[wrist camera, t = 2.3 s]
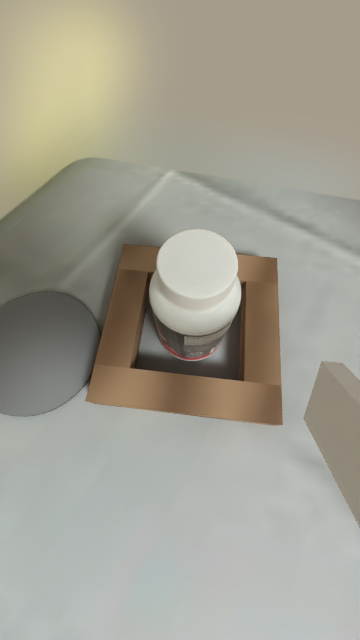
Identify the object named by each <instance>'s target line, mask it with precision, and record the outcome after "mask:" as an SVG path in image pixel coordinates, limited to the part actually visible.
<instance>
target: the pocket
mask: <svg viewBox="0 0 360 640" xmlns="http://www.w3.org/2000/svg"><path fill="white" fill-rule="evenodd" d="M160 248H161V247H151V246H140V245H129V244H124V245H123V249H122V254H121V258H120V262H119V266H118V270H117V274H116V278H115V282H114V286H113V291H112V295H111V299H110V303H109V307H108V311H107V315H106V319H105V323H104V327H103V332H102V336H101V340H100V344H99V348H98V352H97V356H96V360H95V364H94V368H93V373H92V377H91V381H90V385H89V389H88V393H87V397H86V401H88V402H91V403H95V404H103V405H111V406H119V407H127V408H135V409H144V410H152V411H160V412H168V413H176V414H184V415H193V416H201V417H209V418H217V419H225V420H234V421H242V422H250V423H258V424H266V425H282V395H281V365H280V334H279V304H278V273H277V258H270V257H259V256H249V255H238V254H236V255H237V259H238V272H237V276H238V278H239V281H240V285H241V312H240V347H239V381H237V380H228V379H219V378H211V377H202V376H193V375H185V374H176V373H167V372H158V371H150V370H141V369H135V367H136V361H137V356H138V350H139V345H140V339H141V334H142V328H143V323H144V317H145V312H146V306H147V301H148V295H149V287H150V282H151V279H152V276H153V274H154V272H155V270H156V261H157V255H158V252H159V250H160Z"/></svg>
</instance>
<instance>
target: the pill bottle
mask: <svg viewBox="0 0 360 640" xmlns="http://www.w3.org/2000/svg"><path fill="white" fill-rule="evenodd" d="M237 272H238V259H237V255H236V252H235V250H234V248H233V247H232V245H231V244H230V243H229V242H228V241H227V240H226V239H225V238H223V237H222V236H220V235H218V234H217V233H214V232H211V231H208V230H203V229H191V230H185V231H181V232H179V233H177V234H175V235H173V236H171V237H170V238H169V239H168V240H166V241H165V243H164V244H163V245H162V246H161V248H160V250H159V252H158V255H157V261H156V270H155V272H154V274H153V276H152V279H151V282H150V287H149V297H150V304H151V308H152V311H153V315H154V319H155V323H156V327H157V331H158V335H159V338H160V341H161V343H162V345H163V346H164V348H165V349H166V350H167V351H168V352H169V353H170V354H171V355H173V356H174V357H176V358H178V359H181V360H184V361H199V360H202V359H205V358H207V357H209V356H211V355H212V354H213V353H214V352H215V351H216V350H217V349H218V348H219V346H220V345H221V343H222V341H223V339H224V337H225V335H226V333H227V331H228V329H229V327H230V325H231V323H232V321H233V319H234V317H235V315H236V313H237V311H238V308H239V305H240V301H241V285H240V281H239V278H238V276H237Z"/></svg>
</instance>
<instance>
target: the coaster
mask: <svg viewBox="0 0 360 640" xmlns="http://www.w3.org/2000/svg"><path fill="white" fill-rule="evenodd" d="M100 340H101V338H100V332H99V328H98V325H97V322H96V320H95V318H94V317H93V315H92V314H91V312H90V311H89V310H88V309H87V308H86V306H84V305H83V304H82V303H81V302H80V301H78V300H76V299H75V298H73V297H71V296H68V295H65V294H62V293H57V292H37V293H32V294H28V295H25V296H22V297H19V298H17V299H15V300H13V301H11V302H9V303H7V304H6V305H4V306H3V307H1V308H0V413H2V414H6V415H11V416H34V415H39V414H43V413H46V412H49V411H52V410H54V409H56V408H58V407H60V406H62V405H63V404H65V403H66V402H68V401H69V400H70V399H72V398H73V397H74V396H75V395H76V394H77V393H78V392H79V391H80V390H81V389H82V388H83V387H84V386H85V384H86V383H87V382H88V380H89V379H90V377H91V375H92V373H93V368H94V364H95V360H96V356H97V352H98V348H99V344H100Z"/></svg>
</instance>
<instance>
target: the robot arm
mask: <svg viewBox="0 0 360 640" xmlns="http://www.w3.org/2000/svg"><path fill="white" fill-rule="evenodd" d="M304 420H305V422H306V424H307V426H308V428H309V430H310V432H311V434H312V436H313V438H314V440H315V441H316V443H317V445H318V447H319V449H320V451H321V453H322V455H323V457H324V459H325V461H326V463H327V465H328V467H329V469H330V471H331V472H332V474H333V476H334V478H335V480H336V482H337V484H338V486H339V488H340V490H341V492H342V494H343V496H344V498H345V500H346V502H347V503H348V505H349V507H350V509H351V511H352V513H353V515H354V517H355V519H356V521H357V523H358V525H359V527H360V381H359V379H358V378H357V377H356V376H355V375H354V374H353V373H352V372H351V371H350V370H349V369H348V368H347V367H346V366H345V365H344V364H343V363H337V362H326V361H322V362H321V365H320V368H319V371H318V375H317V378H316V381H315V384H314V387H313V390H312V394H311V397H310V400H309V403H308V406H307V409H306V412H305V416H304Z"/></svg>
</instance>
